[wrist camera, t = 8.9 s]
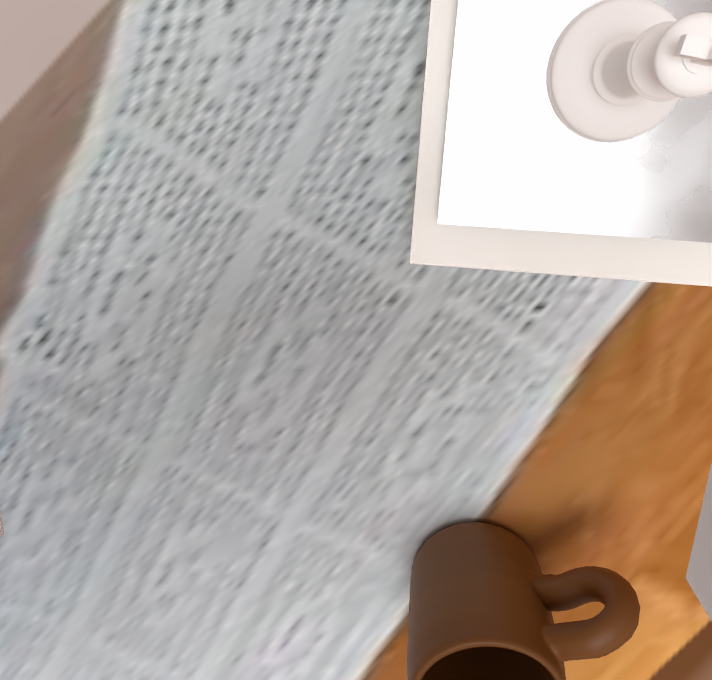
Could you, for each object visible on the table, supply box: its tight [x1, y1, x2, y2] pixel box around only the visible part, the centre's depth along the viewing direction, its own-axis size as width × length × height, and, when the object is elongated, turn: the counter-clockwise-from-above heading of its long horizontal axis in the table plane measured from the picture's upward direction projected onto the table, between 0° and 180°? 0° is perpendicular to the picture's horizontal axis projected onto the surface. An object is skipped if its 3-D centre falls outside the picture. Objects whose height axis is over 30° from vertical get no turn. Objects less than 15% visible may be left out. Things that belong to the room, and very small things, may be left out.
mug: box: [407, 522, 640, 680], centre depth 34 cm, size 12×8×9 cm, turn 126°
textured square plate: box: [437, 0, 712, 243], centre depth 25 cm, size 12×12×1 cm
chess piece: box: [546, 0, 712, 143], centre depth 20 cm, size 5×5×10 cm
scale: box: [410, 0, 712, 286], centre depth 28 cm, size 14×16×5 cm
